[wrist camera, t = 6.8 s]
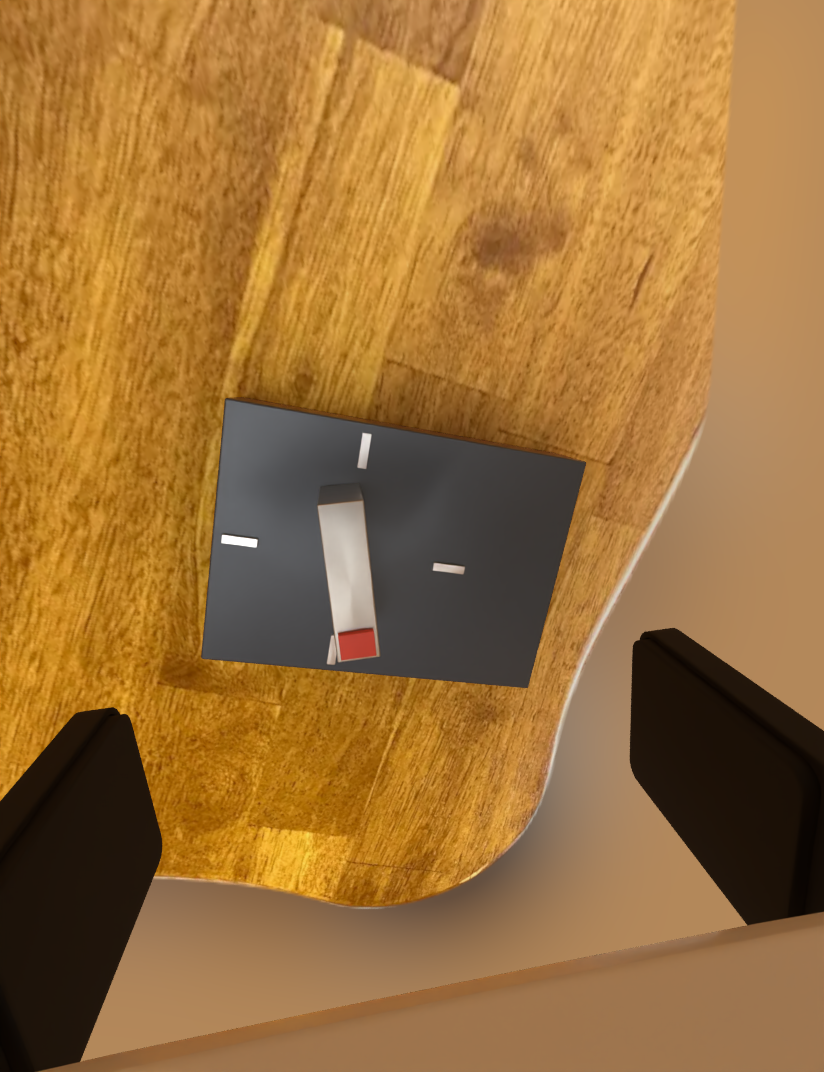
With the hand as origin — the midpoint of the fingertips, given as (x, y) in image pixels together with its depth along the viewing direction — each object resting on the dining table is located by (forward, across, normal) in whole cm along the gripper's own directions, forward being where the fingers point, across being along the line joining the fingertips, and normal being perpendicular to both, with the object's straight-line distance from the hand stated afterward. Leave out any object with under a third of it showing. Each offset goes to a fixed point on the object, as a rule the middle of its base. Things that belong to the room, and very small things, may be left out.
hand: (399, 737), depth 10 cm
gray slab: (+13, +1, 0) cm, 13 cm away
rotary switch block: (+17, -1, +1) cm, 17 cm away
